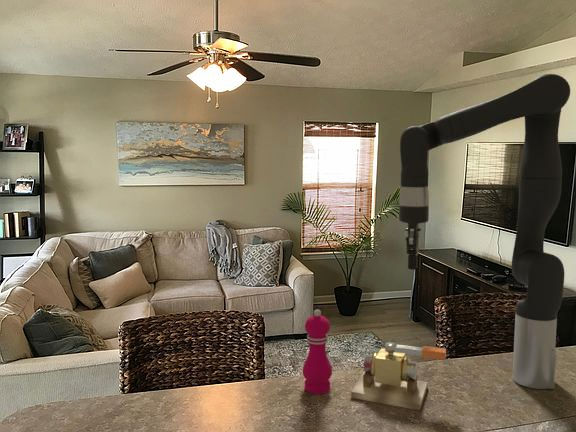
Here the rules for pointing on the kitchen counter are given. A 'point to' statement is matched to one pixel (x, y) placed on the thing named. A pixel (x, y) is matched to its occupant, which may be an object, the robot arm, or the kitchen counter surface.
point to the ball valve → (390, 367)
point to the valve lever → (417, 351)
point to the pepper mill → (317, 355)
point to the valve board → (390, 392)
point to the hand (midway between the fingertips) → (412, 268)
